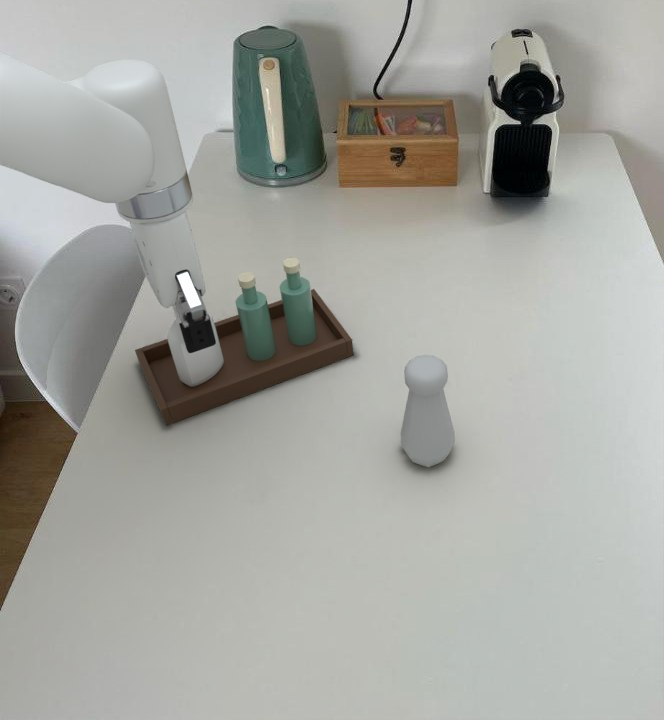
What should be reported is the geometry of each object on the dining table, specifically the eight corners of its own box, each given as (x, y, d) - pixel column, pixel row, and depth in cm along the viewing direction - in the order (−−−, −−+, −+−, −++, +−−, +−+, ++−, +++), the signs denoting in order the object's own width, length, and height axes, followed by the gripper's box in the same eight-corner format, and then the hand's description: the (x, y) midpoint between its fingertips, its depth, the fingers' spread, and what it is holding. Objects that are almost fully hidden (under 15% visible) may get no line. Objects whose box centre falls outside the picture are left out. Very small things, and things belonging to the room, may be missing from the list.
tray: (166, 425, 92) (160, 409, 90) (140, 365, 100) (134, 349, 98) (353, 355, 100) (352, 339, 98) (316, 304, 107) (314, 288, 105)
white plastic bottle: (230, 376, 97) (210, 297, 88) (183, 391, 95) (159, 312, 87) (221, 354, 100) (201, 276, 91) (175, 368, 98) (151, 289, 90)
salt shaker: (430, 424, 91) (429, 337, 82) (465, 454, 87) (468, 366, 78) (390, 450, 88) (384, 363, 79) (424, 482, 85) (422, 394, 76)
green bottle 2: (294, 349, 100) (282, 275, 92) (284, 333, 102) (270, 258, 94) (321, 339, 101) (311, 265, 93) (310, 323, 103) (299, 249, 96)
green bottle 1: (252, 364, 98) (236, 290, 90) (242, 347, 100) (225, 273, 93) (280, 354, 99) (266, 280, 91) (269, 338, 102) (255, 263, 94)
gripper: (95, 163, 85) (137, 293, 97) (136, 245, 74) (178, 381, 85) (165, 145, 87) (197, 274, 99) (216, 221, 76) (246, 356, 88)
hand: (188, 323), depth 92 cm, fingers open, 9 cm apart
